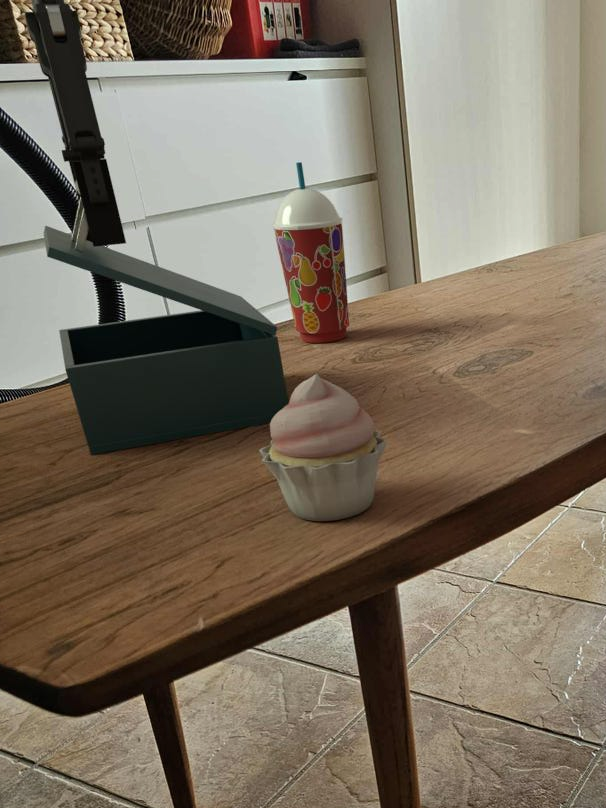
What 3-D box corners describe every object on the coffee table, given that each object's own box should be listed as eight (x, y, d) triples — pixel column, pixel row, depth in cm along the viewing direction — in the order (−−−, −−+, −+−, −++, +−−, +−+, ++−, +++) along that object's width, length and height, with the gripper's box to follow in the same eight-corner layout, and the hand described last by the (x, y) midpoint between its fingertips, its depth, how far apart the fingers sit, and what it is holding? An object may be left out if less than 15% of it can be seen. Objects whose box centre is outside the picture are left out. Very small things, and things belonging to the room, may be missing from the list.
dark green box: (90, 455, 81) (65, 368, 77) (81, 405, 95) (58, 329, 91) (291, 418, 87) (277, 336, 83) (254, 376, 101) (241, 304, 97)
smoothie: (369, 333, 116) (349, 158, 106) (328, 348, 110) (301, 165, 100) (320, 328, 120) (296, 159, 110) (278, 343, 114) (247, 166, 104)
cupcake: (350, 540, 63) (329, 399, 58) (245, 521, 67) (217, 387, 61) (417, 491, 70) (404, 361, 65) (319, 476, 74) (299, 353, 68)
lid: (47, 256, 73) (64, 169, 71) (43, 233, 87) (58, 160, 85) (275, 335, 83) (297, 261, 81) (239, 303, 97) (257, 240, 95)
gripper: (85, -104, 63) (162, 248, 75) (72, -59, 79) (137, 223, 91) (-33, -105, 60) (66, 258, 72) (-20, -58, 77) (59, 231, 89)
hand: (106, 238), depth 82 cm, fingers closed on lid, 8 cm apart
